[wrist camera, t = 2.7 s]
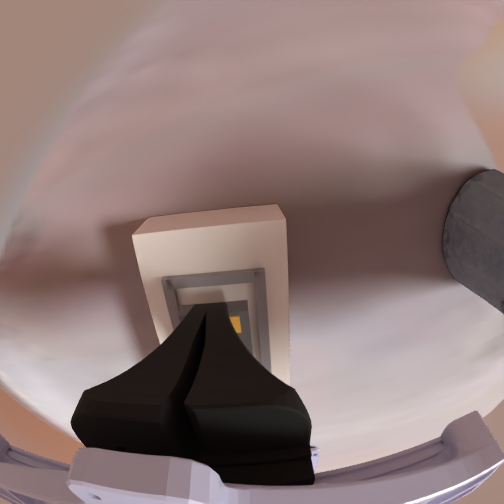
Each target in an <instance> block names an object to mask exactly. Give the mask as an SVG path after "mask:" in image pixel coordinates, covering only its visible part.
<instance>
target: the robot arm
mask: <svg viewBox="0 0 504 504" xmlns="http://www.w3.org/2000/svg"><path fill="white" fill-rule="evenodd" d="M71 426H72V429H73V431H74V432H75V434H76V435H77V437H78V438H79V439H80V440H81V442H82V443H83V444H84V445H85V446H86V448H79V449H78V451H77V452H76V453H75V455H74V458H73V461H72V464H71V465H70V464H66V463H62V462H59V461H55V460H52V459H49V458H45V457H42V456H39V455H36V454H33V453H30V452H28V451H25V450H22V449H19V448H17V447H14V446H12V445H10V444H9V442H8V441H7V440H6V439H5V438H4V437H3V436H2V435H1V434H0V498H2V499H4V500H6V501H8V502H10V503H11V504H451V503H453V502H454V501H456V500H458V499H460V498H462V497H464V496H465V495H467V494H469V493H471V492H472V491H474V490H475V489H476V488H477V487H478V486H479V485H480V484H482V483H483V482H484V481H485V480H486V479H487V478H488V477H489V476H490V475H491V474H492V473H493V472H494V471H495V470H496V469H497V468H498V467H499V466H500V465H501V464H502V463H503V462H504V452H503V451H502V449H501V447H500V445H499V444H498V442H497V440H496V439H495V437H494V436H493V434H492V433H491V431H490V429H489V428H488V426H487V425H486V423H485V422H484V420H483V418H482V417H481V415H480V414H479V412H478V411H473V412H471V413H469V414H467V415H465V416H463V417H461V418H458V419H456V420H454V421H453V422H451V423H450V424H449V425H447V427H446V428H445V429H444V431H443V433H442V435H441V436H440V437H438V438H436V439H433V440H431V441H428V442H426V443H423V444H421V445H418V446H415V447H413V448H410V449H407V450H404V451H401V452H398V453H395V454H392V455H389V456H386V457H382V458H379V459H376V460H372V461H369V462H365V463H361V464H357V465H353V466H349V467H345V468H340V469H336V470H331V471H326V472H321V473H316V469H317V464H318V459H319V454H320V449H319V448H310V437H311V428H312V426H311V419H310V417H309V414H308V412H307V409H306V407H305V405H304V404H303V402H302V400H301V398H300V397H299V395H298V394H297V392H296V391H295V389H294V388H292V387H291V386H289V385H287V384H286V383H284V382H283V381H281V380H280V379H278V378H277V377H276V376H274V375H273V374H272V373H270V372H269V371H268V370H267V369H266V368H265V367H264V366H263V365H262V364H261V363H259V362H258V361H257V360H256V358H255V357H254V356H253V355H252V354H251V353H250V351H249V350H248V349H247V348H246V346H245V345H244V344H243V342H242V341H241V339H240V337H239V336H238V334H237V332H236V331H235V329H234V327H233V325H232V323H231V320H230V318H229V314H228V307H227V304H226V303H225V302H218V303H205V304H195V305H194V306H193V307H192V308H191V310H190V311H189V312H188V314H187V315H186V316H185V317H184V319H183V320H182V321H181V322H180V324H179V325H178V326H177V327H176V328H175V330H174V331H173V332H172V333H171V334H170V335H169V336H168V337H167V338H166V340H165V341H164V342H163V343H162V344H161V345H160V346H159V347H157V348H156V349H155V350H154V351H153V352H152V353H151V354H149V355H148V356H147V357H146V358H144V359H143V360H142V361H140V362H139V363H137V364H136V365H134V366H133V367H131V368H130V369H128V370H127V371H125V372H123V373H122V374H120V375H118V376H116V377H114V378H113V379H111V380H109V381H107V382H104V383H102V384H100V385H97V386H95V387H92V388H90V389H87V390H85V391H84V392H83V394H82V396H81V398H80V400H79V402H78V405H77V407H76V409H75V411H74V414H73V416H72V419H71Z"/></svg>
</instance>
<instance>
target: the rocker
mask: <svg viewBox="0 0 504 504" xmlns="http://www.w3.org/2000/svg"><path fill="white" fill-rule="evenodd" d="M217 303H218V302H217ZM225 303H226V304H227V307H228V314H229V318H230V320H231V323H232V325H233V327H234V329H235V331H236V332H237V334H238V336H239V337H240V339H241V341H242V342H243V344H244V345H245V346H246V348H247V349H248V350H249V351H250V353H251V354H252V355H253V347H252V338H251V329H250V320H249V310H248V301H247V300H240V301H229V302H225ZM204 304H205V303H204ZM194 305H195V304H190V305H180V308H179V314H178V317H179V320H180V322H181V321H182V320H183V319H184V317H185V316H186V315H187V314H188V312H189V311H190V310H191V308H192V307H193V306H194Z"/></svg>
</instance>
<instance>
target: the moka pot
mask: <svg viewBox="0 0 504 504" xmlns="http://www.w3.org/2000/svg"><path fill="white" fill-rule="evenodd" d="M442 249H443V255H444V259H445V262H446V265H447V267H448V269H449V271H450V272H451V274H452V276H453V277H454V279H456V280H457V281H458V282H460V283H461V284H463V285H464V286H465V287H467V288H468V289H469V290H471V291H472V292H474V293H475V294H477V295H478V296H480V297H481V298H483V299H484V300H486V301H487V302H488V303H490V304H491V305H492V306H494V307H495V308H497V309H498V310H499V311H501V312H502V313H503V314H504V174H503V173H502V172H500V171H497V170H495V169H493V170H487V171H484V172H482V173H479V174H477V175H475V176H474V177H472V178H470V179H469V180H468V181H467V182H466V183H465V184H464V185H463V187H462V188H461V190H460V191H459V193H458V195H457V196H456V198H455V200H454V201H453V203H452V204H451V207H450V210H449V212H448V216H447V218H446V221H445V227H444V233H443V240H442Z"/></svg>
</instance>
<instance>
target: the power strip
mask: <svg viewBox="0 0 504 504" xmlns="http://www.w3.org/2000/svg"><path fill="white" fill-rule="evenodd" d="M132 239H133V244H134V248H135V253H136V257H137V262H138V266H139V270H140V274H141V278H142V282H143V286H144V290H145V294H146V297H147V301H148V305H149V308H150V312H151V315H152V319H153V322H154V326H155V329H156V332H157V335H158V339H159V342H160V345H161V344H162V343H163V342H164V341H165V340H166V338H167V337H168V336H169V335H170V334H171V333H172V332H173V331H174V330H175V328H176V327H177V326H178V325H179V324H180V320H179V317H178V314H179V308H180V305H190V304H204V303H217V302H229V301H240V300H247V301H248V310H249V320H250V329H251V338H252V347H253V356H254V357H255V358H256V360H257V361H258V362H259V363H261V364H262V365H263V366H264V367H265V368H266V369H267V370H268V371H269V372H270V373H272V374H273V375H274V376H276V377H277V378H278V379H280V380H281V381H283V382H284V383H286V384H287V385H289V386H290V329H289V286H288V256H287V232H286V219H285V217H284V215H283V213H282V212H281V210H280V208H279V207H278V205H277V204H272V205H260V206H249V207H238V208H228V209H218V210H208V211H199V212H190V213H181V214H173V215H165V216H157V217H149V218H148V219H147V220H146V221H145V222H144V223H143V224H142V225H141V226H140V227H139V228H138V229H137V230H136V231H135V232H134V233H133V234H132Z"/></svg>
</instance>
